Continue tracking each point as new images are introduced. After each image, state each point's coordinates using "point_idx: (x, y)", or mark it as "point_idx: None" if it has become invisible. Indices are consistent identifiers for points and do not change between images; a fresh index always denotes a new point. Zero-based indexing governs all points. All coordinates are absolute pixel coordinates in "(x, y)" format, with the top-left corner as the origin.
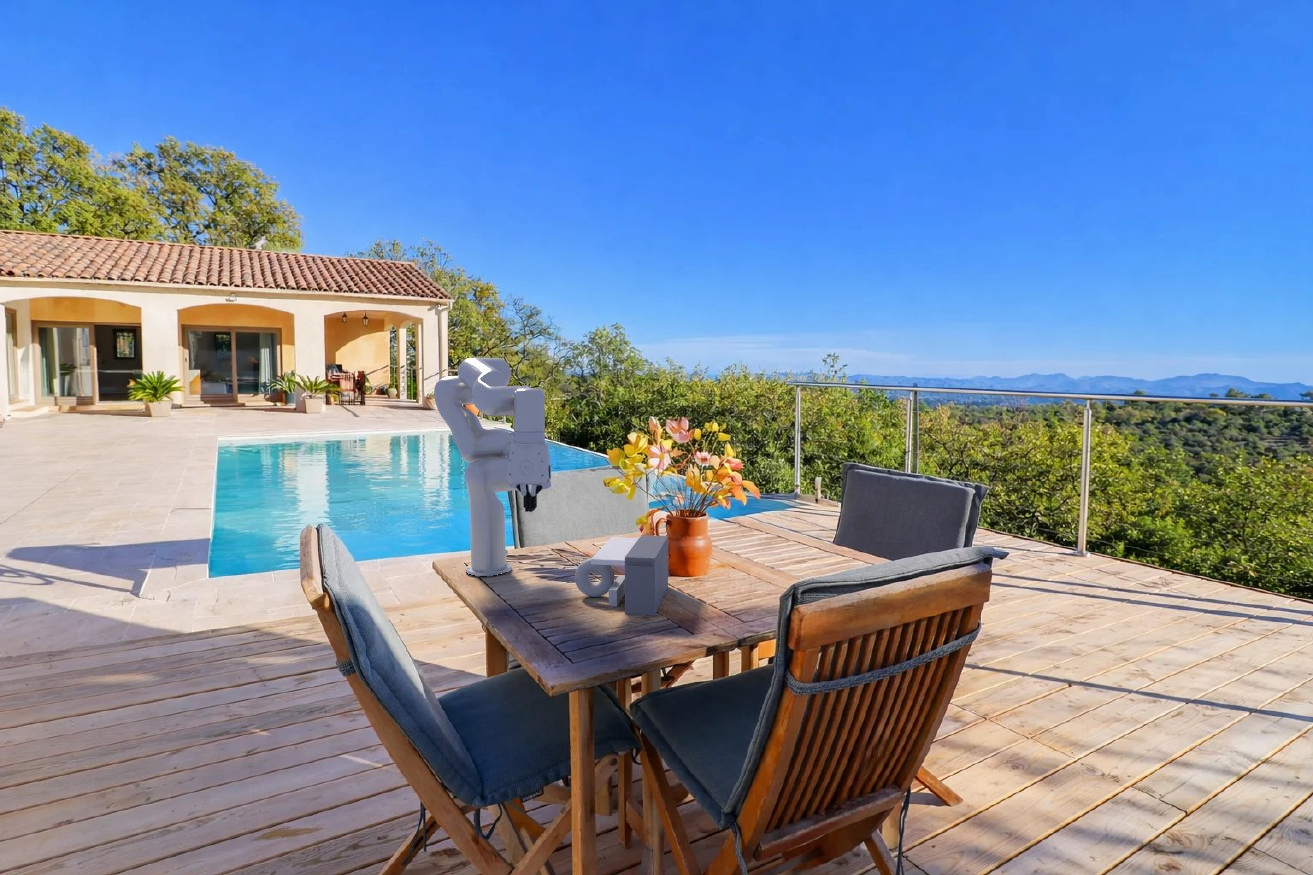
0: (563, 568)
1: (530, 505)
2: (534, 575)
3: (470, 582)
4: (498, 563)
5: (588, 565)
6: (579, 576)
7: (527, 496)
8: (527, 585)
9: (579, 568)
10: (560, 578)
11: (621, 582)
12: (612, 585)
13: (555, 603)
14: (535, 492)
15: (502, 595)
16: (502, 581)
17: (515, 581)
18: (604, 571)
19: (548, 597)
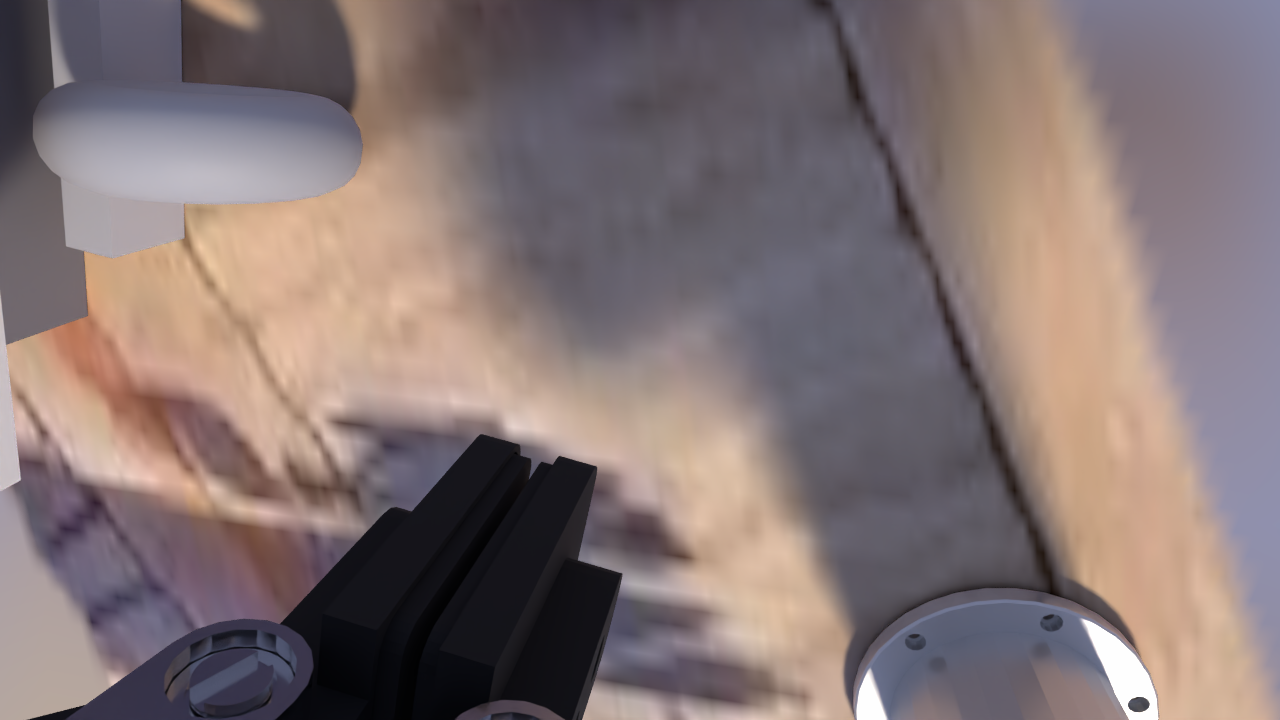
0: None
1: (446, 489)
2: (704, 574)
3: (1112, 499)
4: (941, 679)
5: (167, 95)
6: (291, 98)
7: (437, 675)
8: (729, 394)
9: (257, 113)
10: None
11: None
12: (95, 23)
13: (510, 6)
14: (122, 691)
15: (878, 205)
16: (895, 491)
17: (812, 480)
18: (88, 81)
19: (570, 138)
